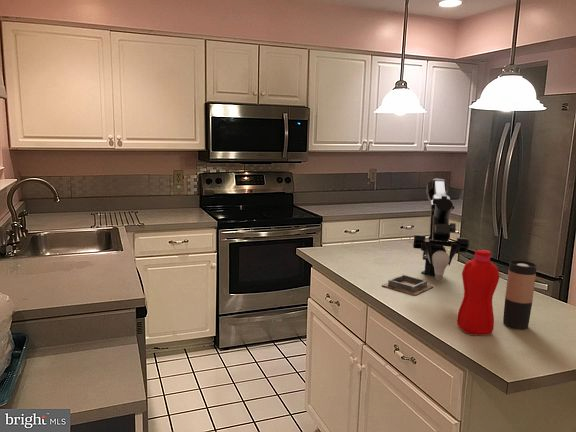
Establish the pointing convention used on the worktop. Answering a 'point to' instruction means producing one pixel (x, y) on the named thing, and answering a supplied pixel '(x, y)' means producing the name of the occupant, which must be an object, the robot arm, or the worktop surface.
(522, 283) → the travel mug
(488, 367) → the worktop surface
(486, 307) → the water bottle
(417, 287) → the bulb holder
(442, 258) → the lightbulb
